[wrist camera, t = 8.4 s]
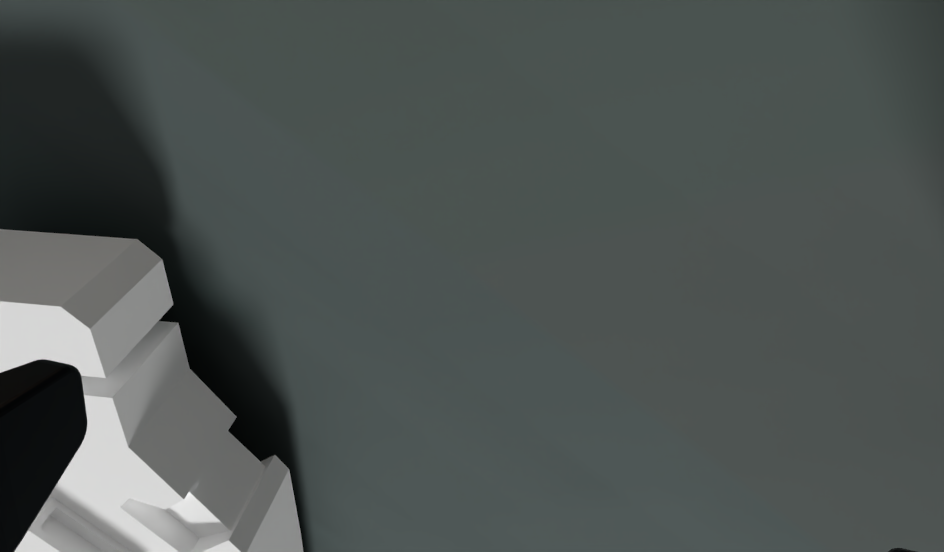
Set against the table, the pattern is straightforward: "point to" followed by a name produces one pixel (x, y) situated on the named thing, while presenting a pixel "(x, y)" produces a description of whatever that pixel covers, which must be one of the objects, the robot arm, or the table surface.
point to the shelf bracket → (133, 409)
